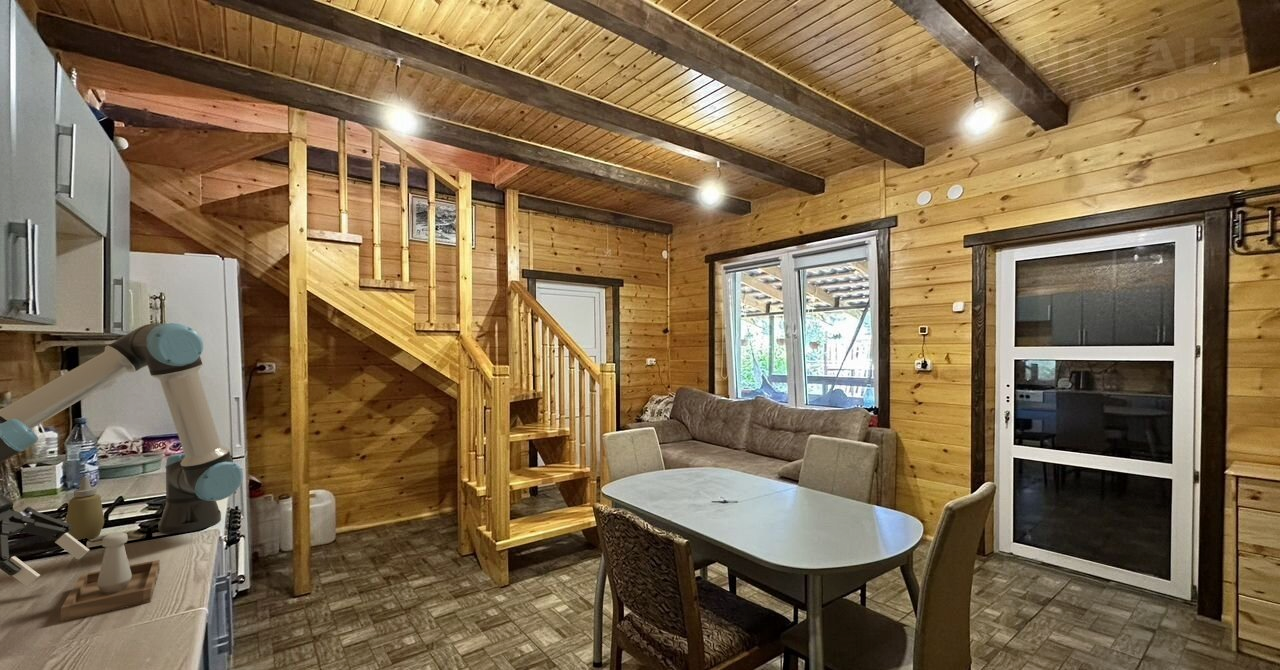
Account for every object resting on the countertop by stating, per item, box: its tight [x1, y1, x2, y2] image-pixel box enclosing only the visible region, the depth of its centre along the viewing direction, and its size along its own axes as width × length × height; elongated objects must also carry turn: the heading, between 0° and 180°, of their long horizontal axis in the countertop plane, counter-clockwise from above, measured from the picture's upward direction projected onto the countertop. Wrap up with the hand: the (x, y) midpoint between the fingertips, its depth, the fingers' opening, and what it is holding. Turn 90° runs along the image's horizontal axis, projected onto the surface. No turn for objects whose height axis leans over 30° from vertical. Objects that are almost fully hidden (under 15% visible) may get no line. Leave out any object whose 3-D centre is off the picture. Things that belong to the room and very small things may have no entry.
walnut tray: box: [60, 559, 161, 623], centre depth 125 cm, size 19×14×3 cm
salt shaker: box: [97, 531, 132, 594], centre depth 125 cm, size 6×6×13 cm
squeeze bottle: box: [65, 476, 105, 540], centre depth 157 cm, size 8×8×18 cm
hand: (60, 567), depth 122 cm, fingers open, 13 cm apart
